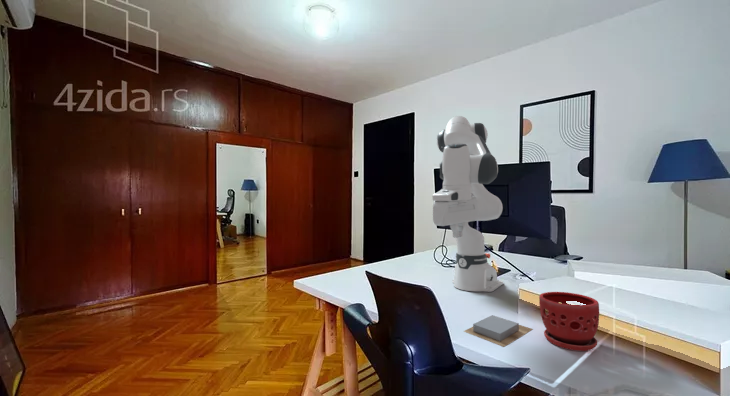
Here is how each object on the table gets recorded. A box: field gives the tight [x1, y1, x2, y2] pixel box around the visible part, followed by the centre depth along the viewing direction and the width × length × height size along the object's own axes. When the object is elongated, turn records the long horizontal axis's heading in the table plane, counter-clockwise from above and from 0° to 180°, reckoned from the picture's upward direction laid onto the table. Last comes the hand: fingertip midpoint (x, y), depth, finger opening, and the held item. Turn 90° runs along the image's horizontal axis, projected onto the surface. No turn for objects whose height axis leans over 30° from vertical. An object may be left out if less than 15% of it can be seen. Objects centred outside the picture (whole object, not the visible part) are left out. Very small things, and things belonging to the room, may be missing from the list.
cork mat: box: [463, 324, 534, 348], centre depth 88 cm, size 16×12×1 cm
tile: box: [472, 315, 520, 341], centre depth 88 cm, size 2×8×10 cm
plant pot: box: [538, 291, 600, 352], centre depth 81 cm, size 13×13×12 cm
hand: (457, 237), depth 100 cm, fingers closed
